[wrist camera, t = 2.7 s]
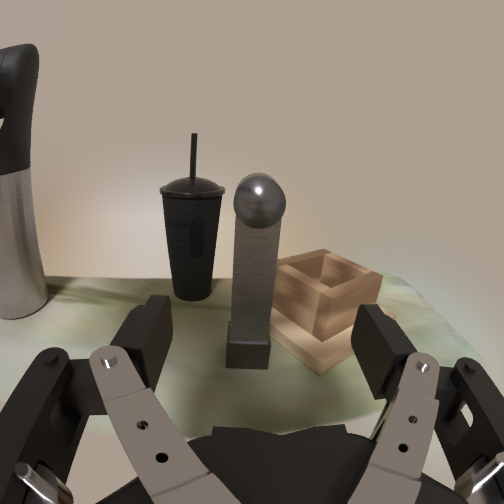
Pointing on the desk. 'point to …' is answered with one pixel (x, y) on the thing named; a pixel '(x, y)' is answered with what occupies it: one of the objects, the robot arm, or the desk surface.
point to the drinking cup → (192, 230)
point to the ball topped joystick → (254, 270)
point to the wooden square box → (320, 306)
